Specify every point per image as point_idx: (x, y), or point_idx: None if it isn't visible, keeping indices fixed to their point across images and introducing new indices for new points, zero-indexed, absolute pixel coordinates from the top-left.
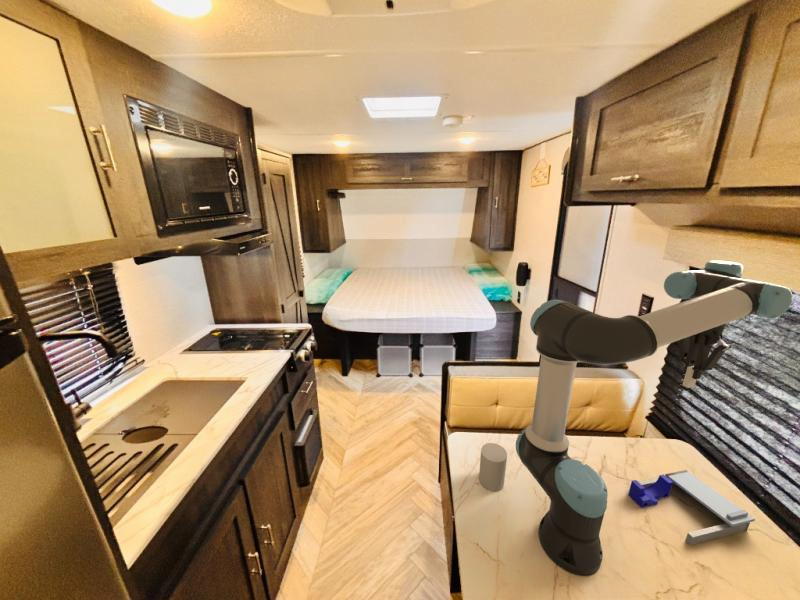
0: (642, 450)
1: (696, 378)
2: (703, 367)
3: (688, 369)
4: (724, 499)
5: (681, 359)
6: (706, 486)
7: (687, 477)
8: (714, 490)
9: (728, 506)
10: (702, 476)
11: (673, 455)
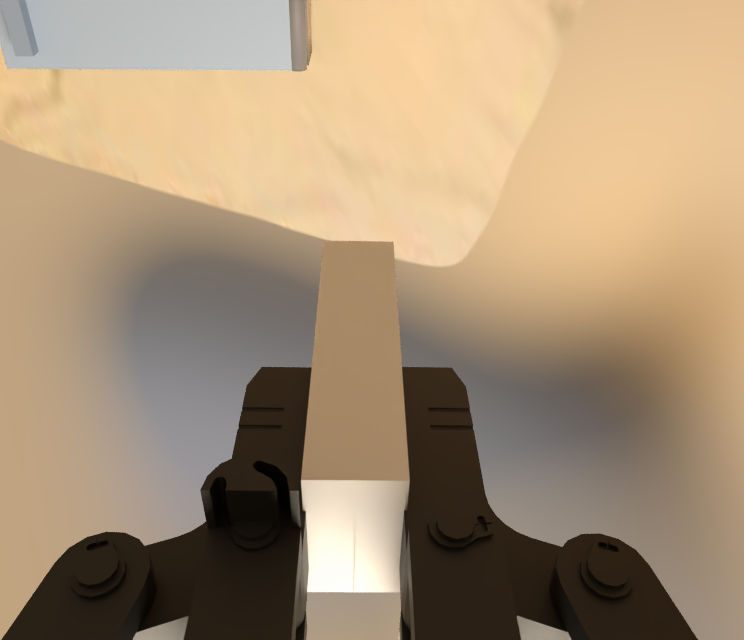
0: (512, 43)
1: (248, 384)
2: (96, 607)
3: (378, 440)
4: (113, 53)
5: (591, 571)
6: (194, 56)
7: (258, 22)
8: (168, 67)
9: (72, 24)
10: (309, 165)
11: (436, 166)
